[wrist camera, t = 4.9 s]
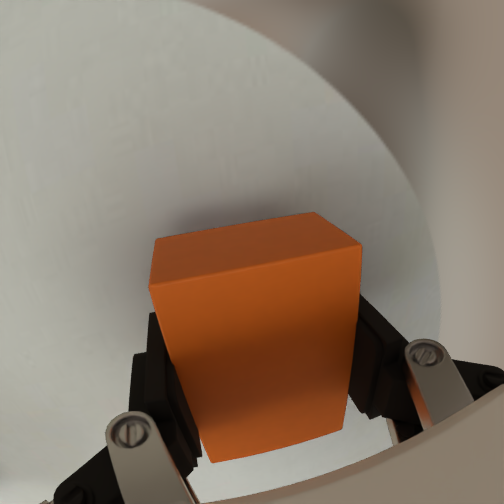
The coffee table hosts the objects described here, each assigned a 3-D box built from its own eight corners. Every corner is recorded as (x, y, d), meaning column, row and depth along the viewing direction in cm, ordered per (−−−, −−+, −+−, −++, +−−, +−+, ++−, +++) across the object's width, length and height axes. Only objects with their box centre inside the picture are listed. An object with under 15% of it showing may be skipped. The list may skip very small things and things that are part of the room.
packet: (154, 238, 9) (147, 285, 7) (314, 210, 10) (363, 243, 7) (201, 406, 12) (210, 464, 10) (314, 379, 13) (342, 429, 10)
